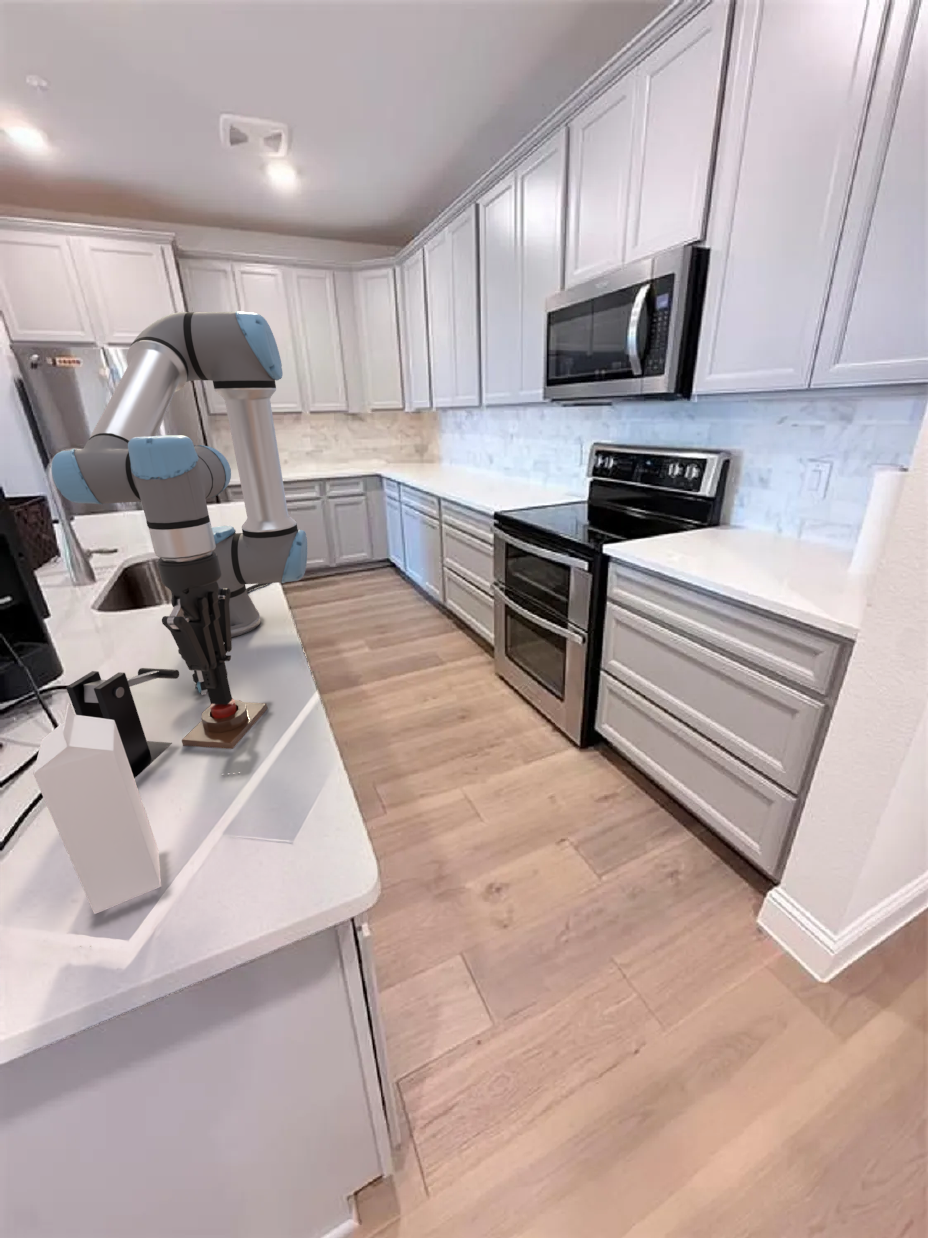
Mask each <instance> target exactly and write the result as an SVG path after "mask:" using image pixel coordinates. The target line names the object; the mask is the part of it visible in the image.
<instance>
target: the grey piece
mask: <svg viewBox="0 0 928 1238" xmlns="http://www.w3.org/2000/svg"><path fill="white" fill-rule="evenodd" d="M177 652H178V654H179V655H180V657H181V658H182V660H183V661H185V660H184V658H183V656H182V654H181V652H180V650H179V648H178V649H177ZM191 678H192V681H193V682H194V689H195V690H196V689H197V690H198V691H197V692H198V694H200V693H201V694H200V695H201V696H205V695H207V693H208V690H207V688H206V687H205V684H204V680H203V676H202V672H201V671H197V670H193V674H192V677H191Z"/></svg>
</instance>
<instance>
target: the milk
mask: <svg viewBox="0 0 928 1238" xmlns="http://www.w3.org/2000/svg"><path fill="white" fill-rule="evenodd" d="M72 707H73V706H72V704H71V703H70V702H67V705H66V710H65V715H64V718H63V719H64V720H63V722H62V723H60V724H59V725H58V726H57V727H55V728H54V729H53V730H52V731H50V732H49V733H48V734H47V735H45V736H44V737H42V739H41V742H40V746H39V749H38V753H37V757H36V760H35V765H34V769H33V773H32V775H33V777H34V779H35V782H36V784H37V786H38V788H39V791H40V793H41V796H42V798H43V800H44V802H45V805H46V807H47V809H48V811H49V814H50V816H51V818H52V821H53V823H54V825H55V828H56V829H57V832H58V835H59V837H60V839H61V841H62V844H63V846H64V848H65V850H66V852H67V855H68V858H69V861H70V862H71V865H72V866H73V869H74V871H75V873H76V876H77V878H78V880H79V882H80V884H81V887H82V890H83V891H84V894H85V896H86V899H87V901H88V903H89V905H90V908H91V910H92V912H93V915H96V914H98V913H101V912H104V911H106V910H108V909H111V908H113V907H115V906H118V905H121V904H123V903H125V902H127V901H130V900H132V899H135V898H137V897H140V896H142V895H145V894H147V893H150V892H152V891H154V890H156V889H159V888H161V887H162V878H161V866H160V865H161V864H160V852H159V851H160V850H159V846H158V844H157V841H156V838H155V835H154V833H153V829H152V827H151V823H150V820H149V818H148V815H147V812H146V809H145V806H144V803H143V801H142V797H141V794H140V791H139V789H138V786H137V785H138V784H137V783H136V780H135V779H136V778H135V779H134V776H133V773H132V770H131V767H130V764H129V762H128V759H127V756H126V753H125V750H124V747H123V744H122V741H121V738H120V735H119V732H118V729H117V726H116V723H115V721H114V720H111V719H104V718H96V717H89V716H81V715H76V713H75V711H73V710H74V709H73V708H72Z"/></svg>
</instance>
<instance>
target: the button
mask: <svg viewBox="0 0 928 1238" xmlns="http://www.w3.org/2000/svg"><path fill="white" fill-rule="evenodd" d="M235 700H236V699H234V698H233V697H232V700H231V701H230V702H229V703H228V704H227V705H226V704H211V703H210V705H209V706H210V710H211V714H212V717H213V718H218V719H221V718H226V717H229V716H231V715H233V714H235V713H236V711H237V708H236V704H235Z"/></svg>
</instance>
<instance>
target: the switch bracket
mask: <svg viewBox="0 0 928 1238" xmlns="http://www.w3.org/2000/svg"><path fill="white" fill-rule="evenodd" d="M127 678H128V677H127V674H126V672H117V673H115V674H114V675H112V676H110V677H109V678H107V679H105V680H106V681H105V682H103V683H102V684H100V685H98V686H97V687H95V688H94V691H95V694H96V697H97V700H98V703H90V702H85V700H84V686H83V685H84V684H88V683H91V682H95V681H99V680H102V678H101V674H100V671H97V670H91V671H90V672H89V673H87V674H85V675H84V676H82V677H80V678H79V679H77V680H75V681H74V682H72V683H70V684H68V685H67V686H66V687H65V689H66V692H67V695H68V697H69V700H70V702H71V706H72V707H73V708H72V709H73V710H74V714H75V715H81V716H89V717H96V718H104V719H111V720H114V721H115V723H116V726H117V729H118V732H119V735H120V738H121V741H122V744H123V747H124V750H125V753H126V756H127V759H128V762H129V764H130V767H131V770H132V773H133V776H134V779H136V778H137V777H139V775H141V774H142V773H143V772H144V771H145V770H146V769H147V768H148V767H149V766H150V765H151V764H152V763H153V762H154V761H155V760H156V759H157V758H158V757H159V756H161V754H163V753H164V752H165V751H166V750H167V749H168V748H169V747H170V746H171V745H173V742H167V741H151V740H147V738H146V734H145V731H144V729H143V724H142V721H141V718H140V716H139V713H138V710H137V706H136V703H135V700H134V697H133V694H132V691H131V688H130V687H131V686H130V687H129V684H128V681H127Z"/></svg>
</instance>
